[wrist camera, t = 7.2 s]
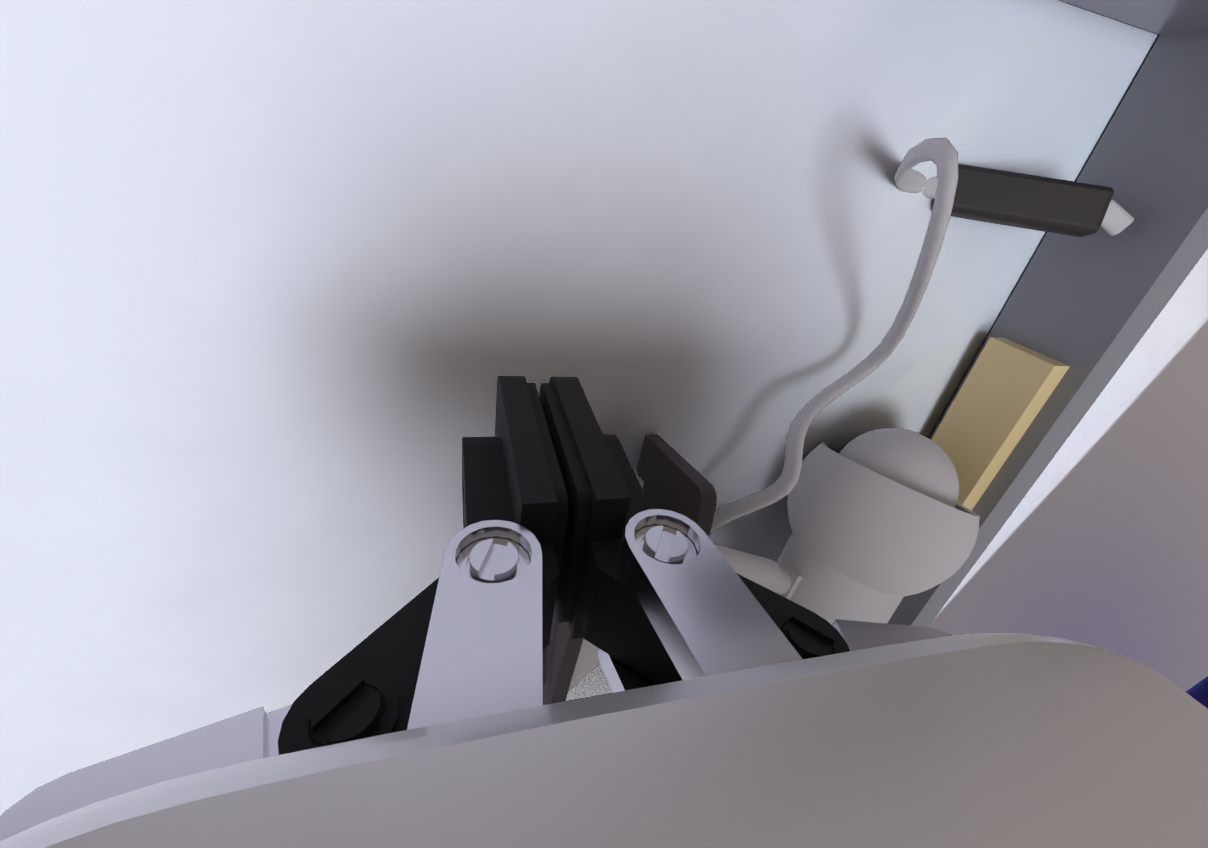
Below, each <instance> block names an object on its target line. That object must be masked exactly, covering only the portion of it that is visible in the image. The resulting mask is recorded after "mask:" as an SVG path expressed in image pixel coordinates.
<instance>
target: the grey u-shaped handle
mask: <svg viewBox="0 0 1208 848" xmlns="http://www.w3.org/2000/svg"><path fill="white" fill-rule="evenodd" d="M1060 1H1063V2H1066V3H1069V4H1072V5H1075V6H1078V7H1081V8H1084V9H1086V10H1089V11H1092V12H1095V13H1098V14H1101V15H1104V16H1107V17H1110V18H1112V19H1115V20H1118V21H1121V22H1124V23H1127V24H1130V25H1133V26H1136V27H1139V28H1141V29H1144V30H1147V31H1150V32H1153V33H1156V34H1159V37H1158V39H1157V41H1156V42H1155V44H1154V46H1153V48H1152V49H1151V51H1150V53H1149V55H1148V56H1147V58H1146V60H1145V62H1144V63H1143V65H1142V67H1141V69H1140V70H1139V72H1138V74H1137V76H1136V77H1135V79H1134V81H1133V83H1132V84H1131V86H1130V88H1129V90H1128V91H1127V93H1126V95H1125V97H1124V98H1123V100H1122V102H1121V104H1120V105H1119V107H1118V109H1117V111H1116V112H1115V114H1114V116H1113V118H1112V119H1111V121H1110V123H1109V125H1108V126H1107V128H1106V130H1105V132H1104V133H1103V135H1102V137H1101V139H1100V140H1099V142H1098V144H1097V146H1096V147H1095V149H1094V151H1093V153H1092V154H1091V156H1090V158H1089V160H1088V161H1087V163H1086V165H1085V167H1084V168H1083V170H1082V172H1081V174H1080V175H1079V177H1078V179H1077V181H1076V182H1079V183H1086V184H1092V185H1099V186H1106V187H1111V188H1113V189H1114V194H1113V197H1112V200H1114V201H1115V202H1116V203H1117V204H1119V205H1120V206H1121V207H1122V208H1123V209H1124V210H1125V211H1127V212H1128V213H1129V214H1130V215H1131V216H1132V217H1133V218H1134V221H1133V222H1132V223H1131V224H1130V225H1129V226H1127V227H1126V228H1125V229H1124V230H1123V231H1121V232H1120V233H1118V234H1116V235H1113V236H1112V235H1110V234H1109V233H1108V232H1106V231H1105V230H1104V229H1103V228H1102V227H1100V228H1099V230H1098V231H1097V232H1096V233H1094V234H1091V235H1088V236H1083V237H1076V236H1070V235H1063V234H1057V233H1051V232H1047V233H1046V235H1045V237H1044V238H1043V240H1042V242H1041V244H1040V245H1039V247H1038V249H1037V251H1036V252H1035V254H1034V256H1033V258H1032V259H1031V261H1030V263H1029V265H1028V266H1027V268H1026V270H1025V272H1024V273H1023V275H1022V277H1021V279H1020V280H1019V282H1018V284H1017V286H1016V287H1015V289H1014V291H1013V293H1012V294H1011V296H1010V298H1009V300H1008V301H1007V303H1006V305H1005V307H1004V308H1003V310H1002V312H1001V314H1000V315H999V317H998V319H997V321H996V322H995V324H994V326H993V328H992V329H991V331H990V333H989V335H988V336H987V338H986V340H985V342H984V343H983V345H982V347H981V349H980V350H979V352H978V354H977V356H976V357H975V359H974V361H973V363H972V364H971V366H970V368H969V370H968V371H967V373H966V375H965V377H964V378H963V380H962V382H961V384H960V385H959V387H958V389H957V391H956V392H955V394H954V396H953V398H952V399H951V401H950V403H949V405H948V406H947V408H946V410H945V412H944V413H943V415H942V417H941V419H940V420H939V422H938V424H937V426H936V427H935V429H934V431H933V433H932V434H931V436H930V438H929V439H930V440H932V441H933V442H935V443H936V444H937V445H938V446H939V447H941V448H942V449H943V450H944V451H945V453H946V454H947V455H948V456H949V458H950V459H951V461H952V463H953V465H954V467H955V469H956V472H957V475H958V481H959V496H958V500H957V503H959V504H960V505H962V506H964V507H966V508H968V509H969V510H971V511H973V512H975V513H976V514H977V515H979V516H980V519H979V531H978V535H977V539H976V543H975V545H974V547H973V549H972V551H971V553H970V555H969V557H968V558H967V560H966V561H965V562H964V564H963V565H962V566H961V568H960V569H959V570H957V571H956V572H955V573H954V574H953V575H952V576H951V577H950V578H948V579H946V580H945V581H943V582H942V583H940V584H938V585H937V586H935V587H933V588H931V589H929V590H926V591H923V592H921V593H918V594H914V595H909V596H904V597H903V599H902V600H901V602H900V604H899V605H898V607H897V608H896V610H895V612H894V613H893V615H892V616H891V618H890V620H889V621H888V623H887V624H897V625H908V626H920V627H928V626H929V625H930V623H931V622H932V621H933V619H934V618H935V617H936V615H937V614H938V613H939V611H940V610H941V609H942V607H943V606H944V605H945V603H946V602H947V600H948V599H949V598H950V596H951V595H952V594H953V592H954V591H955V590H956V588H957V587H958V586H959V584H960V583H961V582H962V580H963V579H964V577H965V576H966V575H967V573H968V572H969V571H970V569H971V568H972V567H973V565H974V564H975V563H976V561H977V560H978V559H979V557H980V556H981V554H982V553H983V552H984V550H985V549H986V548H987V546H988V545H989V544H990V542H991V541H992V540H993V538H994V537H995V536H996V534H997V533H998V531H999V530H1000V529H1001V527H1002V526H1003V525H1004V523H1005V522H1006V521H1007V519H1008V518H1009V517H1010V515H1011V514H1012V513H1013V511H1014V510H1015V508H1016V507H1017V506H1018V504H1019V503H1020V502H1021V500H1022V499H1023V498H1024V496H1025V495H1026V494H1027V492H1028V491H1029V489H1030V488H1031V487H1032V485H1033V484H1034V483H1035V481H1036V480H1037V479H1038V477H1039V476H1040V475H1041V473H1042V472H1043V471H1044V469H1045V468H1046V466H1047V465H1048V464H1049V462H1050V461H1051V460H1052V458H1053V457H1054V456H1055V454H1056V453H1057V452H1058V450H1059V449H1060V448H1061V446H1062V445H1063V443H1064V442H1065V441H1066V439H1067V438H1068V437H1069V435H1070V434H1071V433H1072V431H1073V430H1074V429H1075V427H1076V426H1077V425H1078V423H1079V422H1080V420H1081V419H1082V418H1083V416H1084V415H1085V414H1086V412H1087V411H1088V410H1089V408H1090V407H1091V406H1092V404H1093V403H1094V402H1095V400H1096V399H1097V397H1098V396H1099V395H1100V393H1101V392H1102V391H1103V389H1104V388H1105V387H1106V385H1107V384H1108V383H1109V381H1110V380H1111V379H1112V377H1113V376H1114V374H1115V373H1116V372H1117V370H1118V369H1119V368H1120V366H1121V365H1122V364H1123V362H1124V361H1125V360H1126V358H1127V357H1128V356H1129V354H1130V353H1131V351H1132V350H1133V349H1134V347H1135V346H1136V345H1137V343H1138V342H1139V341H1140V339H1141V338H1142V337H1143V335H1144V334H1145V332H1146V331H1147V330H1148V328H1149V327H1150V326H1151V324H1152V323H1153V322H1154V320H1155V319H1156V318H1157V316H1158V315H1159V314H1160V312H1161V311H1162V309H1163V308H1164V307H1165V305H1166V304H1167V303H1168V301H1169V300H1170V299H1171V297H1172V296H1173V295H1174V293H1175V292H1176V291H1177V289H1178V288H1179V286H1180V285H1181V284H1182V282H1183V281H1184V280H1185V278H1186V277H1187V276H1188V274H1189V273H1190V272H1191V270H1192V269H1193V268H1194V266H1195V265H1196V263H1197V262H1198V261H1199V259H1200V258H1201V257H1202V255H1203V254H1204V253H1205V251H1206V250H1207V249H1208V0H1060Z"/></svg>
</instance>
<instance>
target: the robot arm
mask: <svg viewBox="0 0 1208 848" xmlns="http://www.w3.org/2000/svg"><path fill="white" fill-rule="evenodd" d="M462 492H463V524H464V529H462V530H460V531H459V532H457V533H456V535H455V536H454V537H453V538H452V539H451V540H450V541H449V543H448V545H447V548H446V550H445V553H444V557H443V562H442V567H441V572H440V576H439V578H438V579H437V580H435V581H434V582H433V583H432V584H431V585H429V586H428V587H427V588H426V589H425V590H423V591H422V592H421V593H420V594H419V595H417V596H416V597H415V598H414V599H413V600H411V601H410V602H409V603H408V604H407V605H405V606H404V607H403V608H402V609H401V610H399V611H398V612H397V613H396V614H395V615H393V616H392V617H391V618H390V619H389V620H387V621H386V622H385V623H384V624H383V625H381V626H380V627H379V628H378V629H377V630H375V631H374V632H373V633H372V634H371V635H369V636H368V637H367V638H366V639H365V640H364V641H362V642H361V643H360V644H359V645H358V646H356V647H355V648H354V649H353V650H352V651H350V652H349V653H348V654H347V655H346V656H344V657H343V658H342V659H341V660H340V661H338V662H337V663H336V664H335V665H334V666H332V667H331V668H330V669H329V670H328V671H326V672H325V673H324V674H323V675H322V676H320V677H319V678H318V679H317V680H316V681H314V682H313V683H312V684H311V685H310V686H309V687H308V688H307V689H306V690H305V691H304V692H303V693H302V694H301V695H300V696H299V697H298V698H297V699H296V700H295V701H294V703H293V704H292V705H289V706H286V707H284V708H281V709H278V710H275V711H272V712H269V713H267V714H266V712H265V710H264V707H260V708H257V709H254V710H251V711H248V712H245V713H242V714H240V715H237V716H234V717H231V718H228V719H225V720H222V721H219V722H216V723H213V724H210V725H208V726H205V727H202V728H199V729H196V730H193V731H190V732H187V733H184V734H181V735H179V736H176V737H173V738H170V739H167V740H164V741H161V742H158V743H155V744H152V745H150V746H147V747H144V748H141V749H138V750H135V751H132V752H129V753H126V754H123V755H121V756H118V757H115V758H112V759H109V760H106V761H103V762H100V763H97V764H94V765H92V766H89V767H86V768H83V769H80V770H77V771H74V772H71V773H68V774H66V775H64V776H62V777H60V778H58V779H55V780H53V781H51V782H49V783H47V784H45V785H43V786H41V787H39V788H36V789H35V790H34V791H32V792H31V793H29V794H28V795H27V796H25V797H24V798H23V799H21V800H20V801H18V802H17V803H16V804H14V805H13V806H12V807H10V808H9V809H7V810H6V811H5V812H4V813H3V814H2V815H1V816H0V848H1208V709H1207V708H1206V707H1205V706H1203V705H1202V704H1201V703H1199V702H1198V701H1197V700H1195V699H1194V698H1193V697H1191V696H1190V695H1189V694H1187V693H1186V692H1185V691H1183V690H1182V689H1180V688H1179V687H1178V686H1177V685H1175V684H1173V683H1172V682H1171V681H1169V680H1168V679H1166V678H1165V677H1163V676H1162V675H1161V674H1159V673H1157V672H1156V671H1154V670H1153V669H1151V668H1149V667H1147V666H1145V665H1143V664H1141V663H1139V662H1137V661H1135V660H1132V659H1130V658H1127V657H1125V656H1122V655H1120V654H1117V653H1114V652H1111V651H1108V650H1104V649H1102V648H1099V647H1095V646H1091V645H1087V644H1083V643H1078V642H1074V641H1070V640H1065V639H1061V638H1055V637H1046V636H1037V635H1028V634H1019V633H980V634H969V635H957V636H953V635H951V634H949V633H947V632H945V631H942V630H938V629H934V628H930V627H920V626H908V625H897V624H886V623H874V622H863V621H852V620H840V619H835V620H834V622H833V624H832V625H831V624H830V623H829V622H828V621H827V620H825V619H824V618H822V617H821V616H819V615H817V614H816V613H814V612H812V611H810V610H808V609H806V608H805V607H803V606H801V605H799V604H797V603H795V602H793V601H791V600H789V599H787V598H785V597H783V596H781V595H779V594H777V593H775V592H773V591H771V590H769V589H767V588H765V587H763V586H761V585H759V584H757V583H755V582H753V581H751V580H749V579H747V578H745V577H743V576H742V575H740V574H738V573H736V572H735V571H734V570H733V568H732V567H731V566H730V564H729V563H728V562H727V561H726V559H725V558H724V557H723V555H722V554H721V553H720V552H719V550H718V549H717V548H716V546H715V545H714V544H713V543H712V541H711V540H710V539H709V537H708V536H707V535H706V533H705V532H704V531H703V530H702V529H701V528H700V527H699V526H698V525H697V524H696V523H695V522H694V521H692V520H691V519H689V518H687V517H686V516H684V515H682V514H679V513H676V512H674V511H669V510H663V509H651V506H650V504H649V502H648V500H647V498H646V496H645V494H644V492H643V490H642V488H641V486H640V484H639V481H638V479H637V477H636V475H635V473H634V471H633V469H632V467H631V465H630V463H629V461H628V459H627V457H626V454H625V452H624V450H623V448H622V446H621V444H620V442H619V440H618V438H617V437H616V435H613V434H607V435H603V434H602V432H601V430H600V427H599V425H598V423H597V421H596V418H595V416H594V414H593V412H592V409H591V407H590V405H589V403H588V400H587V398H586V396H585V394H584V391H583V389H582V387H581V385H580V382H579V380H578V378H577V377H551V378H550V381H549V383H542V384H541V387H540V395H538V392H537V388H536V385H535V383H527V382H526V378H525V377H524V376H498V381H497V401H496V426H495V437H462ZM554 607H555V610H556V615H557V619H558V621H559V623H562V622H568V626H569V630H570V635H571V639H578V638H584V639H585V640H587V641H588V642H590V643H591V644H593V645H594V646H596V647H598V658H599V661H600V665H601V667H602V670H603V672H604V674H605V677H606V679H607V681H608V684H609V686H610V688H611V691H612V693H609V694H603V695H597V696H592V697H586V698H580V699H575V700H569V701H564V702H558V703H553V704H547V705H543V658H542V652H543V651H544V650H545V648H546V647H547V646H548V645H549V641H550V634H551V627H552V621H553V614H554Z"/></svg>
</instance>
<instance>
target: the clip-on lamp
mask: <svg viewBox="0 0 1208 848" xmlns="http://www.w3.org/2000/svg"><path fill="white" fill-rule="evenodd" d="M929 160H931V161H933V162H934V163H935V164H936V165H937V177H932V178H930V179H928V180H926V177H925V176H924V175H923V174H921V173H920V172H918V171H915V170H913V169H911V168H912V167H914V166H915V165H917V164H918V163H920V162H925V161H929ZM894 180H895V182H896V185H897V187H898V189H899V190H900V191H903V192H908V193H918V192H920V191H921V190H922V189H923V187H924V185H925V183H926V185H925V188H924V190H923V194H924V196H925V197H927V198H929V199H934V203H933V205H932V214H931V218H930V221H929V225H928V228H927V232H926V235H925V239H924V243H923V246H922V249H921V252H920V255H919V259H918V262H917V265H916V268H915V271H914V274H913V277H912V280H911V283H910V285H909V288H908V291H907V293H906V296H905V299H904V301H903V304H902V306H901V308H900V310H899V312H898V314H897V316H896V319H895V321H894V323H893V325H892V327H891V328H890V330H889V331H888V333H887V334H886V336H885V337H884V339H883V340H882V342H881V343H880V344H879V345H878V346H877V347H876V348H875V350H874V351H873V352H872V353H871V354H870V355H869V356H868V357H867V358H866V359H864V360H863V361H862V362H861V363H860V364H858V365H857V366H856V367H855V368H853V369H852V370H851V371H849V372H848V373H847V374H845V375H844V376H842V377H841V378H840V379H838V380H837V381H835V382H834V383H833V384H831V385H830V386H828V387H827V388H826V389H824V390H823V391H821V392H820V393H819V394H818V395H817V396H815V397H814V398H813V399H812V400H810V401H809V402H808V403H807V404H806V405H805V406H804V407H803V408H802V409H801V410H800V411H799V413H798V414H797V416H796V417H795V419H794V420H793V421H792V423H791V425H790V428H789V431H788V433H787V438H786V447H785V461H784V466H783V470H782V473H781V475H780V476H779V478H778V479H777V480H776V482H775V483H774V484H772V485H770V486H769V487H767V488H765V489H764V490H762V491H760V492H757V493H755V494H752V495H750V496H747V497H745V498H742V499H740V500H738V501H735V502H733V503H731V504H728V505H726V506H724V507H722V508H721V509H719V510H717V511H715V507H716V492H715V489H714V487H713V486H712V484H710V483H709V482H708V481H707V480H706V479H705V478H704V477H703V476H702V475H701V474H700V473H699V472H697V471H696V470H695V469H694V468H693V467H692V466H691V465H690V464H689V463H688V462H687V461H686V460H684V459H683V458H682V457H681V456H680V455H679V454H678V453H677V452H676V451H675V450H674V449H672V448H671V447H670V446H669V445H668V444H667V443H666V442H665V441H664V440H663V439H662V438H661V437H659V436H658V435H645V439H644V443H643V447H642V451H641V455H640V459H639V463H638V467H637V472H638V474H639V475H640V476H641V478H642V479H643V480H644V487H643V492H644V494H645V496H646V498H647V500H648V502H649V504H650V506H651V509H663V510H669V511H674V512H676V513H679V514H682V515H684V516H686V517H687V518H689V519H691V520H692V521H694V522H695V523H696V524H697V525H698V526H699V527H700V528H701V529H702V530H703V531H704V532H705V533H706V535H707V536H709V535H710V534H711V533H712V532H714V531H715V530H716V529H718V528H720V527H722V526H723V525H725V524H727V523H729V522H731V521H733V520H735V519H737V518H740V517H742V516H745V515H747V514H749V513H752V512H754V511H757V510H759V509H762V508H764V507H766V506H769V505H771V504H774V503H775V502H777V501H778V500H780V499H782V498H783V497H785V496H786V495H788V503H787V509H788V518H789V522H790V526H791V530H792V534H791V535H790V537H789V539H788V541H787V543H786V545H785V547H784V549H783V551H782V553H781V555H780V556H779V558H778V560H777V562H776V561H774V560H772V559H768V558H764V557H761V556H757V555H754V554H750V553H746V552H743V551H739V550H735V549H732V548H728V547H724V546H721V545H717V544H714V545H715V546H716V548H717V549H718V550H719V552H720V553H721V554H722V555H723V557H724V558H725V559H726V561H727V562H728V563H729V564H730V566H731V567H732V568H733V570H734V571H735V572H736V573H738V574H740V575H742V576H743V577H745V578H747V579H749V580H751V581H753V582H755V583H757V584H759V585H761V586H763V587H765V588H767V589H769V590H771V591H773V592H775V593H777V594H779V595H781V596H783V597H785V598H787V599H789V600H791V601H793V602H795V603H797V604H799V605H801V606H803V607H805V608H806V609H808V610H810V611H812V612H814V613H816V614H817V615H819V616H821V617H822V618H824V619H825V620H827V621H828V622H829V623H830V624H831V625H832V624H833V622H834V620H835V619H840V620H852V621H863V622H874V623H886V624H887V623H888V621H889V620H890V618H891V616H892V615H893V613H894V612H895V610H896V608H897V607H898V605H899V604H900V602H901V600H902V599H903V597H904V596H909V595H914V594H918V593H921V592H923V591H926V590H929V589H931V588H933V587H935V586H937V585H938V584H940V583H942V582H943V581H945V580H946V579H948V578H950V577H951V576H952V575H953V574H954V573H955V572H956V571H957V570H959V569H960V568H961V566H962V565H963V564H964V562H965V561H966V560H967V558H968V557H969V555H970V553H971V551H972V549H973V547H974V545H975V543H976V539H977V535H978V531H979V519H980V516H979V515H977V514H976V513H975V512H973V511H971V510H969V509H968V508H966V507H964V506H962V505H960V504H959V503H957V500H958V496H959V481H958V475H957V472H956V469H955V467H954V465H953V463H952V461H951V459H950V458H949V456H948V455H947V454H946V453H945V451H944V450H943V449H942V448H941V447H939V446H938V445H937V444H936V443H935V442H933V441H932V440H930V439H929V438H927V437H925V436H923V435H921V434H919V433H916V432H913V431H910V430H905V429H900V428H883V429H877V430H872V431H869V432H866V433H864V434H861V435H859V436H858V437H856V438H854V439H853V440H851V441H850V442H849V443H848V444H846V446H845V447H844V448H843V449H842V450H841V451H840V453H839V454H838V453H837V452H835V451H833V450H831V449H829V447H830V446H828V445H826V444H825V443H823V442H822V443H821V444H819V445H818V446H817V447H816V448H814V449H813V450H812V451H811V452H810V453H809V454H808V455H807V456H806V457H805V459H804V460H803V461H802V457H803V447H804V439H805V436H806V433H807V430H808V427H809V425H810V424H811V422H812V420H813V419H814V417H815V416H816V415H817V414H818V413H819V412H820V411H821V410H822V409H823V408H824V407H825V406H826V405H827V404H829V403H830V402H831V401H832V400H834V399H835V398H836V397H838V396H839V395H841V394H842V393H844V392H845V391H846V390H848V389H849V388H851V387H852V386H854V385H855V384H857V383H858V382H859V381H861V380H862V379H864V378H865V377H866V376H868V375H869V374H870V373H871V372H873V371H874V370H875V369H876V368H878V367H879V366H880V365H881V364H882V363H883V362H884V361H885V360H886V359H887V358H888V357H889V355H890V354H891V353H892V352H893V350H894V349H895V348H896V346H897V345H898V343H899V342H900V341H901V339H902V338H903V336H904V334H905V332H906V330H907V329H908V327H909V325H910V323H911V321H912V319H913V317H914V315H915V313H916V311H917V309H918V306H919V304H920V301H921V299H922V297H923V294H924V292H925V290H926V287H927V285H928V282H929V280H930V277H931V274H932V271H933V268H934V266H935V263H936V260H937V257H938V254H939V252H940V249H941V245H942V242H943V239H944V235H945V232H946V229H947V225H948V222H949V219H950V216H954V217H960V218H966V219H972V220H978V221H984V222H990V223H996V224H1002V225H1009V226H1015V227H1021V228H1027V229H1033V230H1039V231H1045V232H1051V233H1057V234H1063V235H1070V236H1076V237H1083V236H1088V235H1091V234H1094V233H1096V232H1097V231H1098V230H1099V228H1100V227H1102V228H1103V229H1104V230H1105V231H1106V232H1108V233H1109V234H1110V235H1112V236H1113V235H1116V234H1118V233H1120V232H1121V231H1123V230H1124V229H1125V228H1126V227H1127V226H1129V225H1130V224H1131V223H1132V222H1133V221H1134V218H1133V217H1132V216H1131V215H1130V214H1129V213H1128V212H1127V211H1125V210H1124V209H1123V208H1122V207H1121V206H1120V205H1119V204H1117V203H1116V202H1115V201H1114V200H1112V197H1113V194H1114V189H1113V188H1111V187H1106V186H1099V185H1092V184H1086V183H1079V182H1073V181H1066V180H1060V179H1053V178H1046V177H1040V176H1033V175H1027V174H1020V173H1014V172H1007V171H1000V170H994V169H987V168H981V167H974V166H968V165H961V164H958V152H957V150H956V149H955V148H954V147H953V145H952V144H951V143H950V141H949V140H948V139H947V138H932V139H926V140H924V141H923V142H921V143H919V144H918V145H916V146H915V147H913V148H912V149H910V150H909V151H908V152H907V154H906V155H905V157H904V159H903V160H902V162H901V164H900V165H899V168H898V170H897V172H896V174H895V177H894ZM926 181H927V182H926ZM542 658H543V705H547V704H553V703H558V702H564V701H565V700H566V697H567V693H568V692H569V691H570V690H571V689H572V688H573V687H574V686H575V685H576V684H578V683H579V682H580V681H581V680H582V679H583V678H584V677H585V676H586V675H588V674H589V673H590V672H591V671H592V670H593V669H594V668H595V667H597V666H598V665H599V664H600V661H599V658H598V647H596V646H594V645H593V644H591V643H590V642H588V641H587V640H585V639H584V638H578V639H571V635H570V630H569V626H568V622H562V623H559V621H558V619H557V615H556V610H555V607H554V614H553V621H552V627H551V634H550V641H549V645H548V646H547V647H546V648H545V650H544V651H543V652H542Z"/></svg>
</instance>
